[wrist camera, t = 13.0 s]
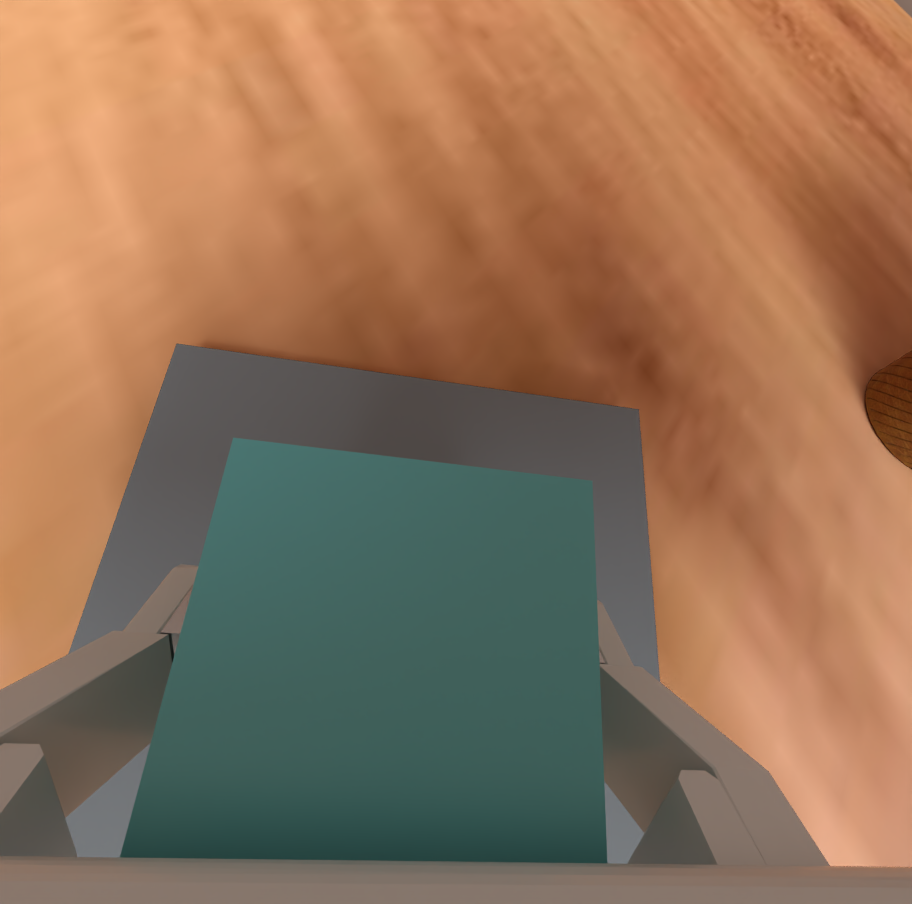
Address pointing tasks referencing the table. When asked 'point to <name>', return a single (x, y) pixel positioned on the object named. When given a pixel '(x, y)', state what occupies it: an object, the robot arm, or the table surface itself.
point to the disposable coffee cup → (893, 407)
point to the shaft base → (363, 431)
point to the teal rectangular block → (383, 669)
